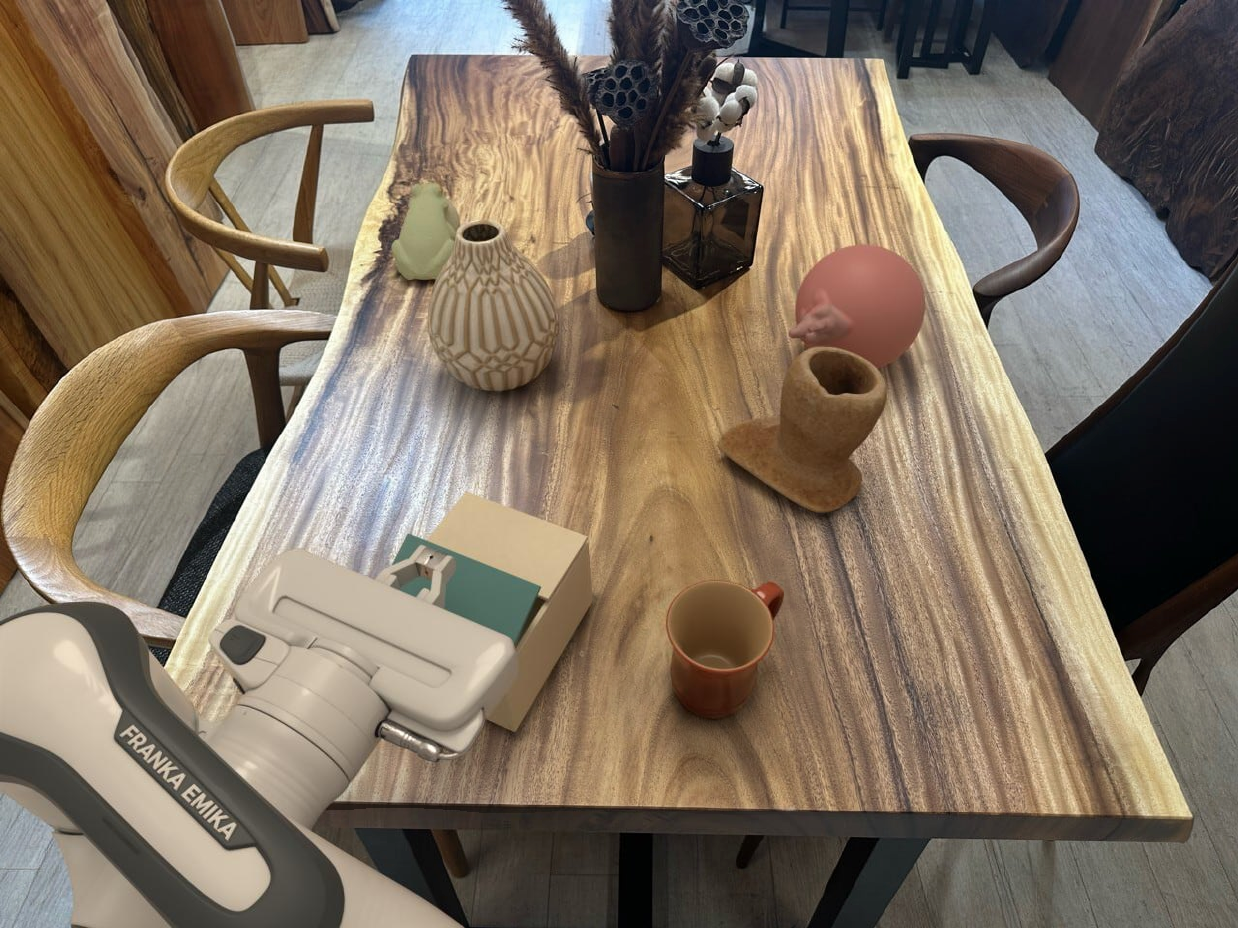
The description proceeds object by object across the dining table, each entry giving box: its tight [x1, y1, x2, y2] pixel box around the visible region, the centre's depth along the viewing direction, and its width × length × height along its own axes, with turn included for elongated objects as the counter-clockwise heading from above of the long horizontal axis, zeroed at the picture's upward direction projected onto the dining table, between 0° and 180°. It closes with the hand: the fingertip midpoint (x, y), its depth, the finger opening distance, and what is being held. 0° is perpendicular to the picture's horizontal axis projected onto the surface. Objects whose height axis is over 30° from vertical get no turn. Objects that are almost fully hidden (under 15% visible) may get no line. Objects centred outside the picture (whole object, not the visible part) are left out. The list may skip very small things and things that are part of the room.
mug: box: [665, 579, 785, 720], centre depth 70 cm, size 12×9×10 cm
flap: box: [390, 533, 541, 646], centre depth 66 cm, size 7×13×1 cm, turn 65°
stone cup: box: [716, 346, 888, 514], centre depth 86 cm, size 15×12×15 cm
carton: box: [425, 491, 593, 733], centre depth 73 cm, size 15×13×10 cm
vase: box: [427, 218, 560, 392], centre depth 97 cm, size 16×16×20 cm
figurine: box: [391, 182, 462, 281], centre depth 119 cm, size 10×16×10 cm, turn 179°
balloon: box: [788, 244, 926, 369], centre depth 99 cm, size 15×20×15 cm
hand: (440, 555), depth 62 cm, fingers closed
